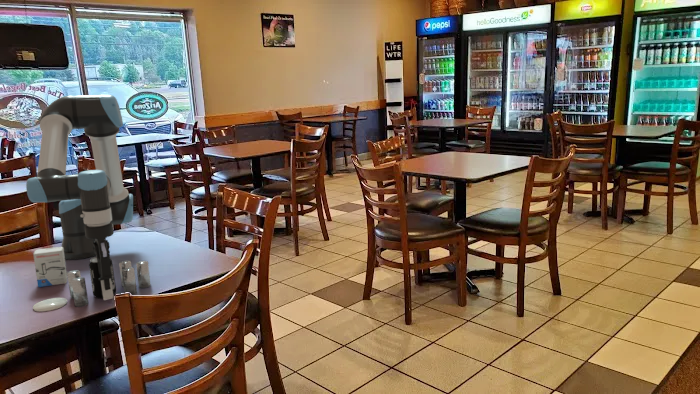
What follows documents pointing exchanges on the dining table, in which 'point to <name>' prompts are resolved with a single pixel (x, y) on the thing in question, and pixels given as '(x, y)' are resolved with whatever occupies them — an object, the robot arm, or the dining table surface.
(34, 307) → the coaster
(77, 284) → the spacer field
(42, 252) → the ink box
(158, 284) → the dining table surface
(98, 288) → the beverage can
